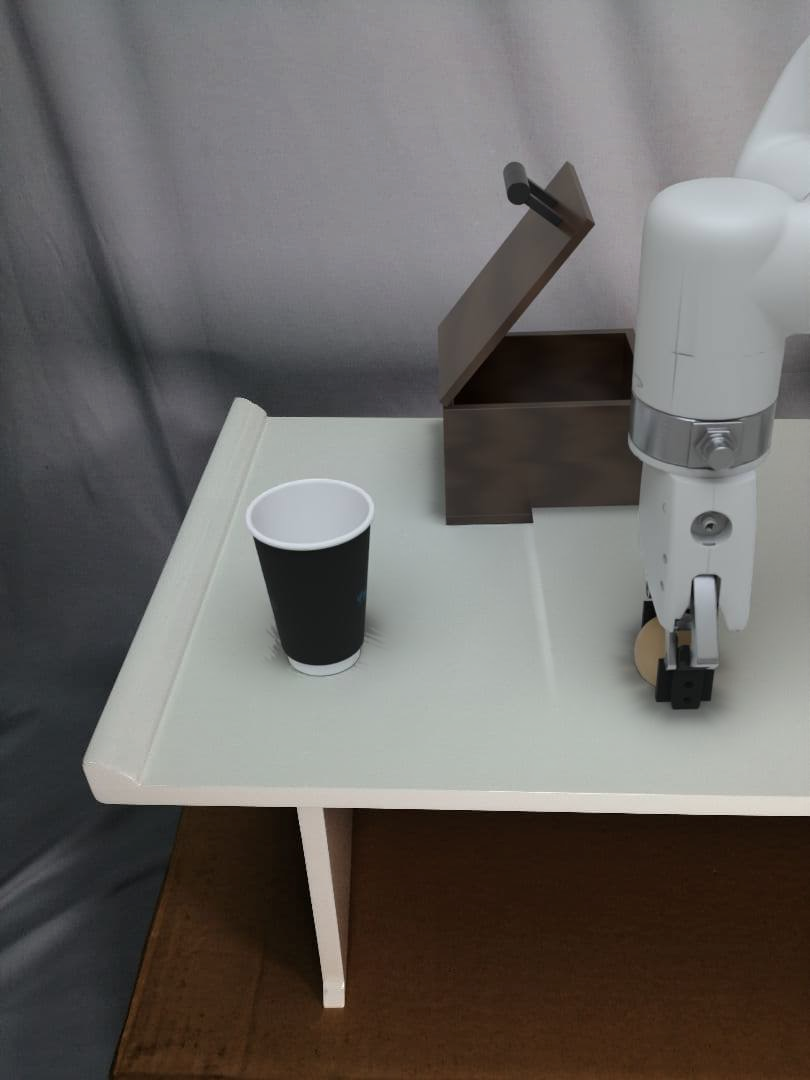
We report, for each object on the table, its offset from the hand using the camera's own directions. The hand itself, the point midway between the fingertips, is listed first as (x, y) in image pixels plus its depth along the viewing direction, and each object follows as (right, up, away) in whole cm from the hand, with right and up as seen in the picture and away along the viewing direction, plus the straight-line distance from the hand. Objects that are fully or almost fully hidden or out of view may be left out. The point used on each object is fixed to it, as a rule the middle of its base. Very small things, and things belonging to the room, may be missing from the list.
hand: (673, 679), depth 73 cm
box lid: (-9, +27, +13) cm, 32 cm away
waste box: (-6, +14, +22) cm, 27 cm away
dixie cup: (-22, +1, +4) cm, 22 cm away
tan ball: (0, 0, 0) cm, 0 cm away
